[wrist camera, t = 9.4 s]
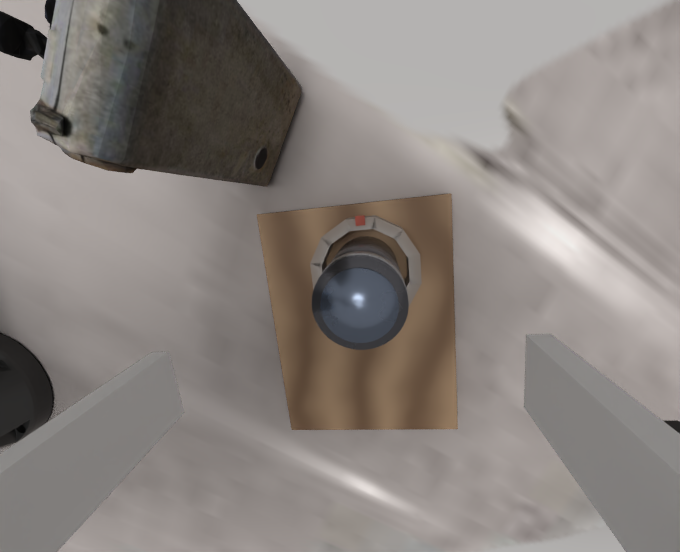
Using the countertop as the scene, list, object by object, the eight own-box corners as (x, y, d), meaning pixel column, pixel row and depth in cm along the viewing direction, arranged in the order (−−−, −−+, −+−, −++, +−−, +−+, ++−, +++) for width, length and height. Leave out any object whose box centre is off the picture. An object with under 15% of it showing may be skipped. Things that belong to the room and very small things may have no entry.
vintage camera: (161, 21, 29) (-287, -323, 10) (310, 89, 28) (139, -141, 9) (137, 126, 32) (-249, 15, 13) (273, 191, 31) (81, 177, 12)
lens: (337, 300, 31) (316, 354, 20) (330, 239, 30) (303, 262, 19) (400, 295, 30) (412, 350, 19) (395, 232, 29) (406, 253, 18)
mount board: (295, 420, 37) (284, 448, 33) (262, 213, 32) (244, 216, 27) (454, 419, 34) (464, 449, 30) (447, 193, 29) (459, 192, 25)
